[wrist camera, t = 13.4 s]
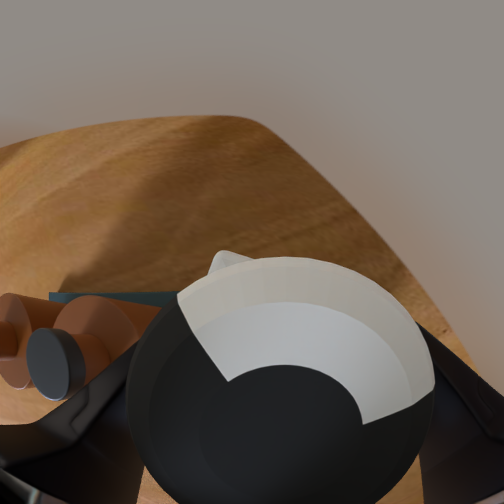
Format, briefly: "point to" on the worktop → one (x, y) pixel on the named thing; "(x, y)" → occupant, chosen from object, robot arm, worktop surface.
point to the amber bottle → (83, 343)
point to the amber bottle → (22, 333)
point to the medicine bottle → (280, 386)
